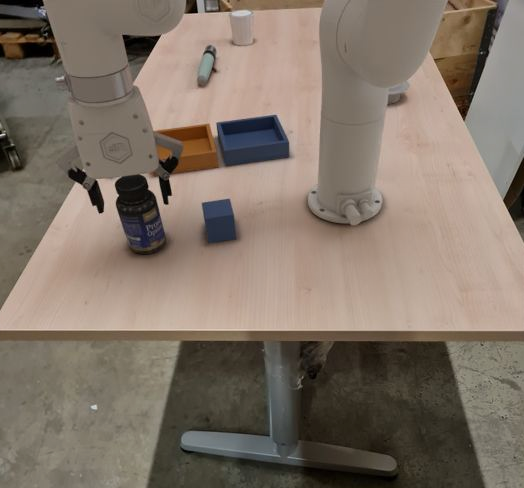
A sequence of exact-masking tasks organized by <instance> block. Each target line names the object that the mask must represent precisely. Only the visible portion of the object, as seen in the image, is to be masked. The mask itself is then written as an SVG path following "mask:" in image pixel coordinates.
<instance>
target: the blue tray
mask: <svg viewBox="0 0 524 488" xmlns="http://www.w3.org/2000/svg"><path fill="white" fill-rule="evenodd" d="M215 125H216V133H217V138H218V142H219V147H220V149H221V154H222V158H223V161H224V164H225V166H226V167H229V166H235V165H243V164H248V163H255V162H263V161H270V160H277V159H285V158H290V140H289V138H288V136H287V134H286V132H285V129H284V128H283V126H282V123H281V121H280V120H279V117H278V115H277V114H270V115H262V116H255V117H254V116H253V117H248V118H240V119H233V120H225V121H224V120H223V121H218V122H217V121H216V122H215Z"/></svg>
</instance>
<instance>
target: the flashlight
mask: <svg viewBox="0 0 524 488" xmlns="http://www.w3.org/2000/svg"><path fill="white" fill-rule="evenodd" d="M216 57H217V48H216V47H215V45H213V44H208V45H206V46H205V48H204V51H203V53H202V56H201V60H200V63H199V65H198V70H197V76H196V77H197V78H196V81H197V84H199V85H201V86H204V85H205V84H206V83H207V82H208V79H209V78H210V75H211V73H212V71H213V72H214V73H216V72H217V70H218V69H217V68H216V67H214V64H215V61H216Z"/></svg>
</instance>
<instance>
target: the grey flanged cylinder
mask: <svg viewBox="0 0 524 488" xmlns="http://www.w3.org/2000/svg"><path fill="white" fill-rule="evenodd" d="M409 89H410V82H409V81H408V80H407V81H406V82H404V83H402V84H401V85H398V86H396V87H392V88H389V92H388V103H387V105H390V104H395V103H397V102H398V101H399V100H400V97H401V93H403V92H405V91H408V90H409Z"/></svg>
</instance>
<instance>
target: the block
mask: <svg viewBox="0 0 524 488" xmlns="http://www.w3.org/2000/svg"><path fill="white" fill-rule="evenodd" d="M201 209H202V214H203V220H204V226H205V232H206V237H207V242H208V244H211V243H217V242H218V243H219V242H225V241H231V240H237V231H236V222H235V221H236V220H235V213H234V210H233V205H232V201H231V198H224V199H216V200H209V201H204V202H201Z"/></svg>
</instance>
